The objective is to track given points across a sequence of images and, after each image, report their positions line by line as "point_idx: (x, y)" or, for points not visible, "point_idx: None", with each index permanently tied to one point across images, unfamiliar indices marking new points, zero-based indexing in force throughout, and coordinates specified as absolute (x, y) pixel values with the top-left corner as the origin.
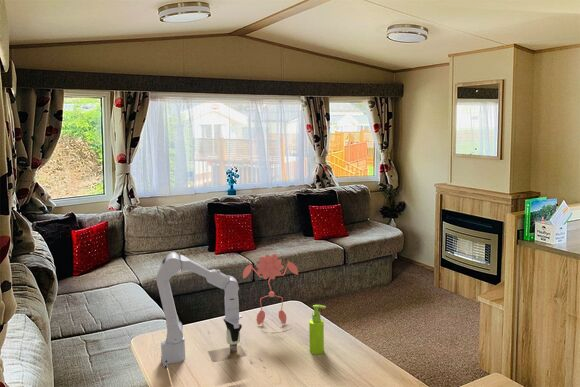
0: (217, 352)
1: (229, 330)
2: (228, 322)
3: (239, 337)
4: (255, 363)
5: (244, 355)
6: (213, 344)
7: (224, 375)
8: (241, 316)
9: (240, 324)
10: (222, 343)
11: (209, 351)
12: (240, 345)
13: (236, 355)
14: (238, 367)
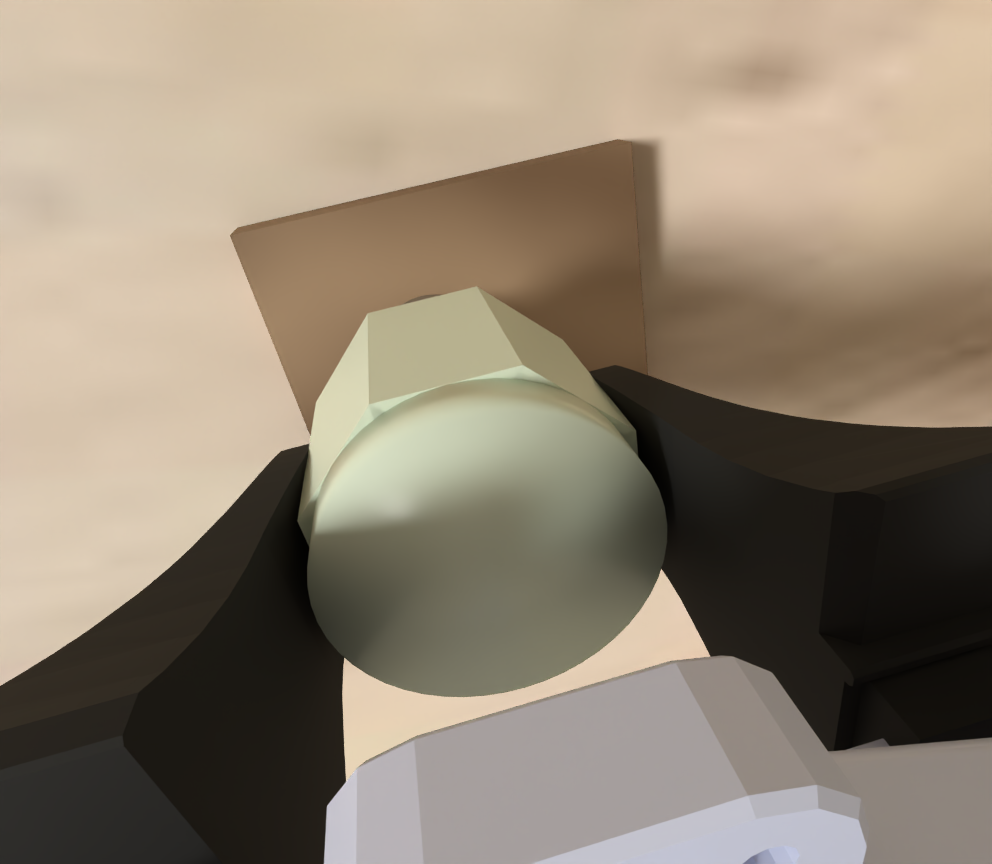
0: None
1: (505, 641)
2: (320, 842)
3: (513, 328)
4: (821, 6)
5: (614, 182)
6: (134, 593)
7: (898, 421)
8: (852, 825)
9: (907, 515)
10: (92, 495)
11: None
12: (241, 235)
13: (581, 306)
14: (815, 274)
